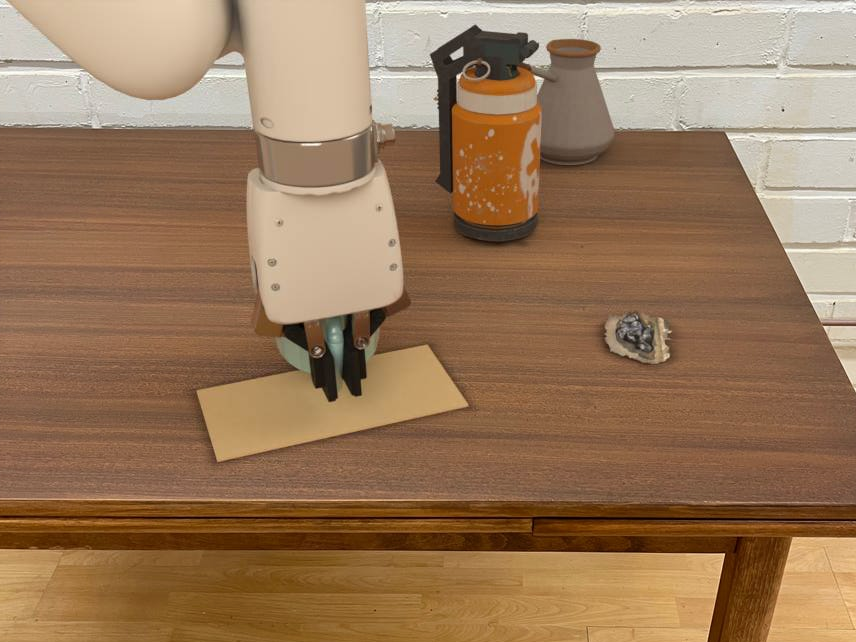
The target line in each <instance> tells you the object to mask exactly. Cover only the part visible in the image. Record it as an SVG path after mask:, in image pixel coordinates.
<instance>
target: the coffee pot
mask: <svg viewBox="0 0 856 642" xmlns="http://www.w3.org/2000/svg"><path fill="white" fill-rule="evenodd" d="M545 49H546V50H547V52H548V53H549V58H550V65H549V68H548V70H544V69H541V68H538V67H535V66H531V65H530V64H528V63H526V62H524V61H523V62H522V63H521V64H520V65H517V67H520V68H523V69H526V70H528V71H529V72H531V73H532V74H533V76H534V77H535V76H536V77H537V78H540V79H543V81H542V83H541V86H540V88H539V90H538V91H537V103H538V104H539V105H540V106H541V108H542V122H541V145H540V160H541V161H543V162H547V163H549V164H555V165H558V166H559V165H560V166H577V165H585V164H589V163H590V162H593V161H595V160H596V159H598V156H599V155H602V154H603V153H604V152H605V151H606V150H607V149H608V148H609V147H610V146H611V144H612V142H613V140H614V138H615V134H616V132H615V131H616V130H615V128H614V125H613V121H612V117H611V115H610V111H609V108H608V105H607V102H606V99H605V96H604V93H603V90H602V87H601V83H600V81H599V77H598V74H597V70H596V67H595V62H596V58H597V54H599V53H600V52H601V50H602V47H601V45H600V44H599V43H597V42H596V41H593V40H589V39H582V38H560V39H552V40H551V41H549V42H548V43H547V44H546V46H545ZM511 66H512V65H511ZM473 67H474V66H473ZM473 67H471V68H473Z"/></svg>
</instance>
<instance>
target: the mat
mask: <svg viewBox="0 0 856 642" xmlns="http://www.w3.org/2000/svg"><path fill="white" fill-rule="evenodd" d="M366 371H367V378H366V379H362V380H361V389H362V396H357V397H355V396H354V395H353V396H352V395H351V393H350V391H349V389H348V387H347V386H346V384H345V382H344V380H343V388H342V390H341V391H340V392H338V399H336V401H333V402H328V400H327V398H326V396H325V394H324V392H323V390H322V388H318V389H315V387H314V385H313V382H312V378H311V374H310V373H307V372H304V371H302V370H299V369H297V370H293V371H288V372H287V371H286V372H281V373H277V374H272V375H267V376H262V377H261V376H260V377H256V378H251V379H247V380H242V381H237V382H232V383H227V384H221V385H216V386H210V387H208V388H207V387H205V388H201V389H196V394H197V395H196V396H197V399H198V401H199V405H200V408H201V412H202V415H203V418H204V422H205V426H206V429H207V432H208V435H209V439H210V442H211V445H212V449H213V451H214V455H215V459H216V461H217V463H220V462H224V461H225V462H226V461H228V460H233V459H238V458H239V459H240V458H243V457H247V456H252V455H256V454H261V453H265V452H269V451H274V450H275V451H276V450H279V449H284V448H287V447H292V446H297V445H301V444H307V443H310V442H315V441H319V440H324V439H328V438H334V437H338V436H341V435H346V434H350V433H351V434H352V433H357V432H361V431H364V430H370V429H373V428H378V427H383V426H387V425H393V424H396V423H401V422H405V421H410V420H415V419H419V418H423V417H428V416H432V415H437V414H442V413H446V412H450V411H456V410H460V409H465V408H468V407H469V403H468V401H467V400H466V399H465V397H464V396H463V394H462V393H461V392H460V390H459V388H458V387H457V386H456V384H455V382H454V381H453V379H452V378H451V376H450V375H449V374H448V372H447V371H446V369H445V368H444V366H443V365H442V363H441V362H440V361H439V359H438V358H437V356H436V355H435V353H434V352H433V351H432V349H431V347H430V346H429V344H424V345H423V344H422V345H418V346H414V347H408V348H402V349H398V350H394V351H393V350H392V351H387V352H383V353H377V354H373V356H372V357H371V359H370V360H369V361H368V362H367V363H366Z"/></svg>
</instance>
